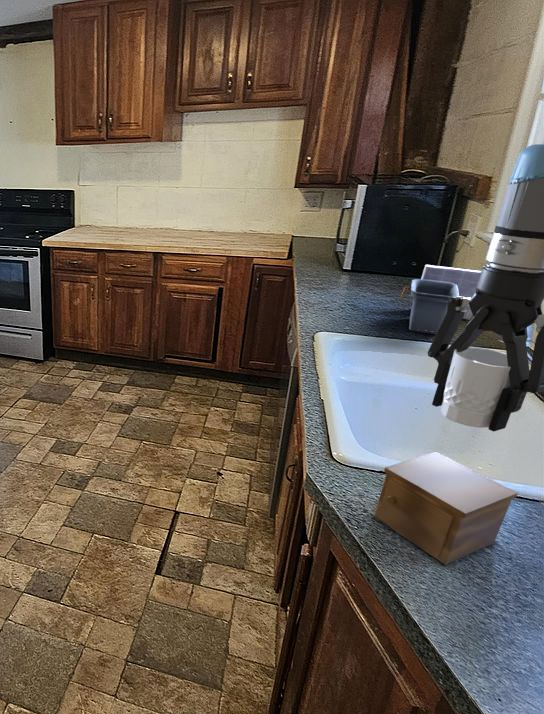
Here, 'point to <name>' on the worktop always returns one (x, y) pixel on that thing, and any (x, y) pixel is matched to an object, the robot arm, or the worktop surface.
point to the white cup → (475, 386)
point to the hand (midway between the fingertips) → (466, 415)
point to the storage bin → (429, 304)
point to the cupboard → (442, 506)
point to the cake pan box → (454, 280)
